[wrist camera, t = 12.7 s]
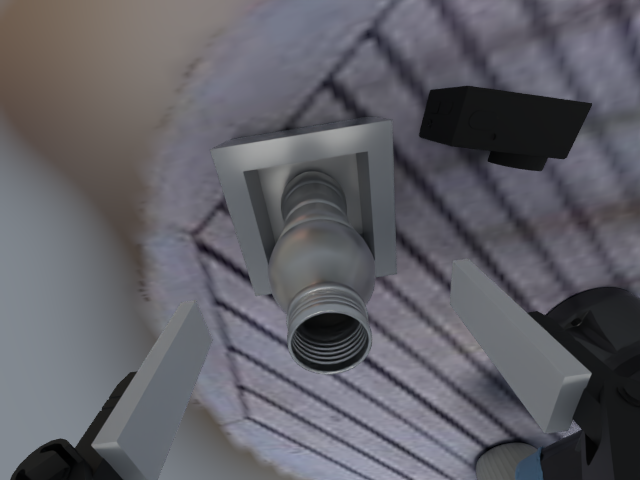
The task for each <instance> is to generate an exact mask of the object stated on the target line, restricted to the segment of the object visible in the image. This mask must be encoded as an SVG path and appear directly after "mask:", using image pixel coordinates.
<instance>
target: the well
mask: <svg viewBox="0 0 640 480" xmlns="http://www.w3.org/2000/svg"><path fill="white" fill-rule="evenodd" d="M210 152H211V155H212V158H213V161H214V164H215V168H216V171H217V174H218V177H219V180H220V184H221V187H222V190H223V193H224V196H225V200H226V203H227V206H228V209H229V212H230V216H231V219H232V222H233V225H234V228H235V231H236V235H237V238H238V241H239V244H240V247H241V251H242V254H243V257H244V260H245V263H246V267H247V270H248V273H249V276H250V279H251V283H252V286H253V289H254V292H255V295H256V296H260V295H266V294H272V290H271V287H270V284H269V280H268V266H269V260H270V258H271V255H272V252H273V249H274V247H275V245H276V243H277V241H278V239H279V237H280V235H281V233H282V230H283V227H284V221H283V218H282V213H281V197H282V194H283V191H284V189H285V188H286V186H287V184H288V183H289V182H290V181H291V180H292V179H294V178H295V177H296V176H298V175H299V174H302V173H305V172H310V171H314V172H320V173H324V174H326V175H328V176H330V177H331V178H333V179H334V180H335V181H336V182H337V183H338V184H339V185H340V186H341V188H342V190H343V191H344V194H345V197H346V203H347V219H348V221H349V222H350V224H351V226H352V227H353V228H354V229H355V230H356V231H357V233H358V234H359V235H360V236H361V237H362V238H363V239H364V241H365V243H366V244H367V246H368V248H369V249H370V251H371V253H372V255H373V258H374V262H375V272H376V273H375V277H381V276H387V275H394V274H397V264H396V230H395V196H394V161H393V127H392V120H391V119H385V118H379V117H373V116H370V117H364V118H358V119H351V120H345V121H339V122H333V123H327V124H321V125H315V126H309V127H303V128H297V129H291V130H285V131H278V132H272V133H266V134H260V135H254V136H248V137H242V138H236V139H231V140H229V141H227V142H225V143H223V144H221V145H218V146H216V147H214V148H212V149H210Z"/></svg>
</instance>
